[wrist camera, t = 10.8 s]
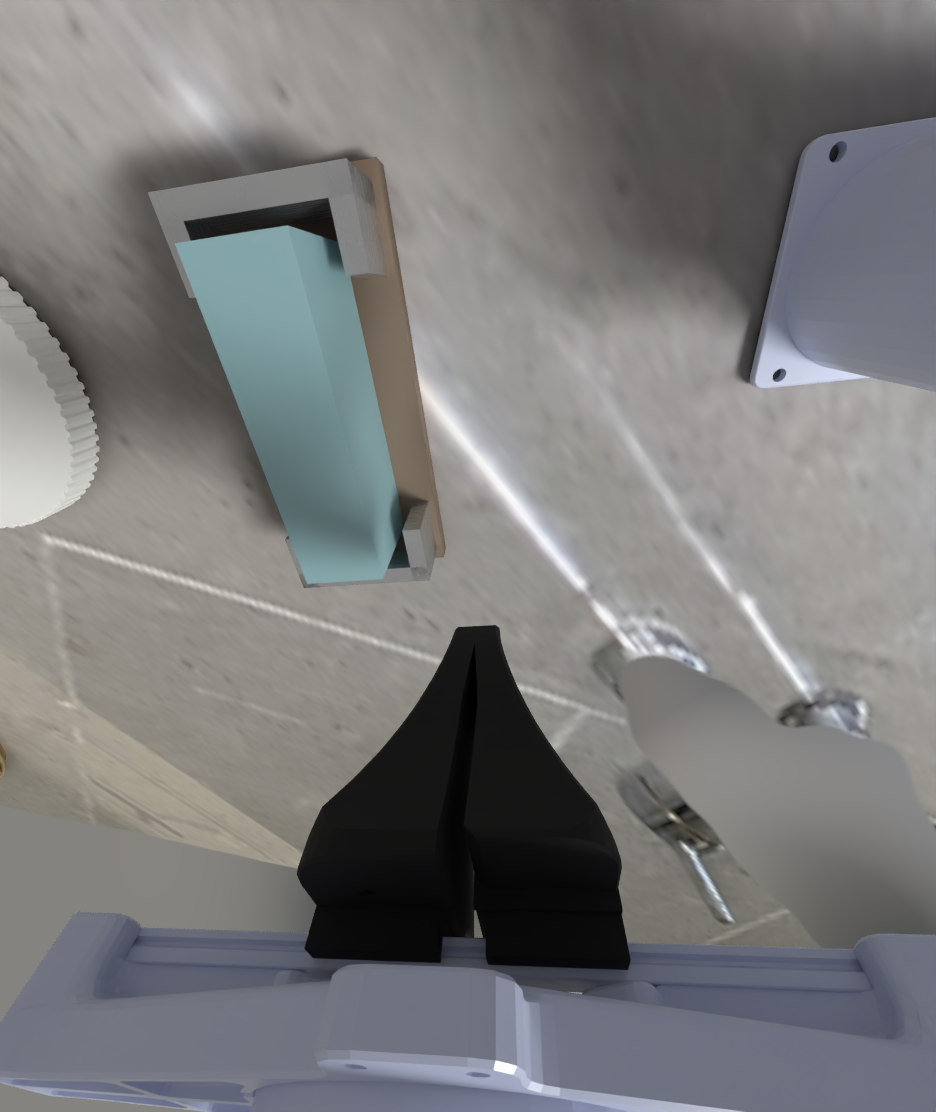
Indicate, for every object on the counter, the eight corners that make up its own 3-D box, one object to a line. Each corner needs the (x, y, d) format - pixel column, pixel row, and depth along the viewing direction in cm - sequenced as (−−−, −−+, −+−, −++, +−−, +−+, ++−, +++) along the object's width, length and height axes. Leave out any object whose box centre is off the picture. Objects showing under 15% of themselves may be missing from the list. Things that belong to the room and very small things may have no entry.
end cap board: (383, 164, 15) (376, 156, 14) (445, 547, 24) (443, 557, 23) (205, 194, 16) (189, 189, 15) (328, 555, 25) (322, 565, 24)
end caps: (372, 181, 15) (346, 157, 12) (436, 548, 23) (429, 580, 20) (204, 209, 15) (147, 192, 13) (324, 556, 23) (304, 587, 21)
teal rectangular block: (343, 243, 16) (287, 225, 12) (404, 524, 22) (382, 579, 18) (258, 256, 16) (174, 243, 12) (342, 529, 22) (307, 583, 18)
